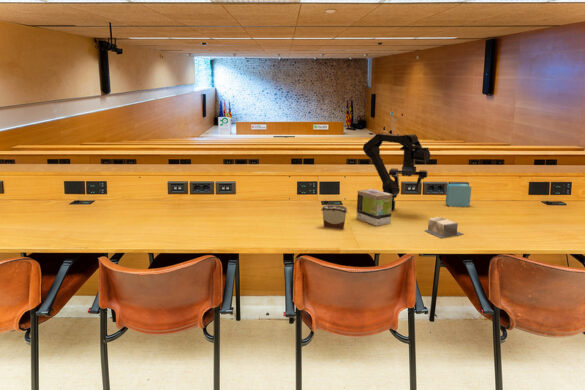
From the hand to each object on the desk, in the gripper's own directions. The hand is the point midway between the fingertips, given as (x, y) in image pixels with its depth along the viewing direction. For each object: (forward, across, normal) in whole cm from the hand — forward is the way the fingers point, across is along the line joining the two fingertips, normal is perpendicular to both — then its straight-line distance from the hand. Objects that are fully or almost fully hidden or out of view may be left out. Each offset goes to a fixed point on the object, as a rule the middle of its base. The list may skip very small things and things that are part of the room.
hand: (407, 189), depth 232 cm
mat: (+13, +20, -25) cm, 35 cm away
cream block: (+10, +15, -21) cm, 28 cm away
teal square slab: (+13, +25, +27) cm, 39 cm away
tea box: (+13, -13, -19) cm, 27 cm away
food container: (+13, -28, -35) cm, 47 cm away
